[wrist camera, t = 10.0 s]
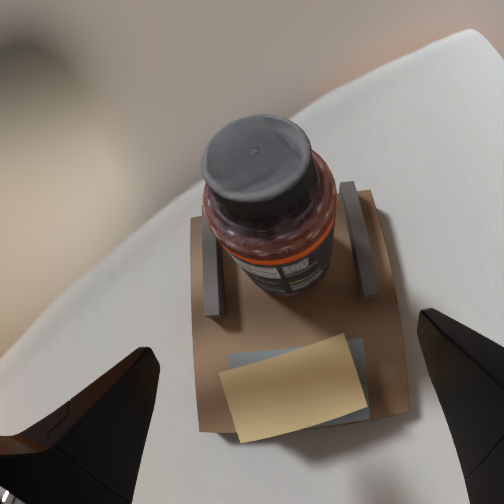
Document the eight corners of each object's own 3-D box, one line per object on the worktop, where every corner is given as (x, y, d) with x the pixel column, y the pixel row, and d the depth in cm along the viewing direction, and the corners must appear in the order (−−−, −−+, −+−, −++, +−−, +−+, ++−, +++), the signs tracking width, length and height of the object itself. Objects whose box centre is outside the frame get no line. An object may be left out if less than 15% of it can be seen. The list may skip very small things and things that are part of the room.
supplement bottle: (281, 202, 22) (250, 79, 11) (348, 248, 20) (374, 135, 9) (227, 263, 21) (147, 172, 11) (293, 317, 19) (264, 265, 8)
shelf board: (401, 406, 17) (424, 419, 12) (209, 426, 19) (181, 442, 14) (367, 202, 22) (376, 166, 18) (199, 228, 25) (174, 199, 20)
